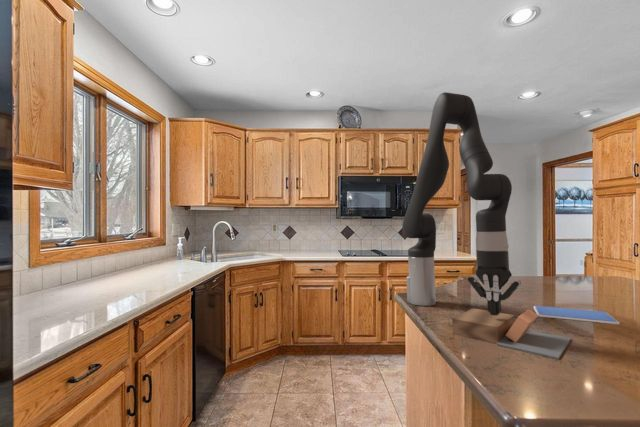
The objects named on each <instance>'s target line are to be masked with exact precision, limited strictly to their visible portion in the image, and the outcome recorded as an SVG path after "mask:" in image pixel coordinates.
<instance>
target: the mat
mask: <svg viewBox="0 0 640 427" xmlns="http://www.w3.org/2000/svg"><path fill="white" fill-rule="evenodd" d="M571 340H572V337H568V336H563V335H558V334H552V333H547V332H540V331H537V330H528V331H527V332H526V334H525V335H524V336H522V337H521V338H520V339H519V340H518V341H517V342H516V343H515V342H514V341H513V340H511V339H510V338H508V337H507V336H505V337H504V338H503V339H502V340H501V341H499V342H498V343H497V344H496V345H497V346H499V347H503V348H507V349H511V350H516V351H519V352H520V351H521V352H524V353H529V354H533V355H537V356H542V357H546V358H550V359H555V360H559V359H560V358H561V357H562V355H563V354H564V352H565V350H566V349H567V347H568V345H569V343H570V342H571Z"/></svg>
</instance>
